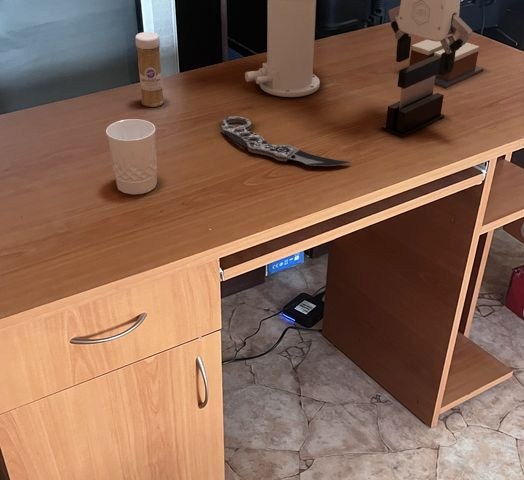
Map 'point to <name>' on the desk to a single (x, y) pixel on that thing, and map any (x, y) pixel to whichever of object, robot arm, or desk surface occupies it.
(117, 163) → the white cup
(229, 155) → the desk surface
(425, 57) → the cake
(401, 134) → the stand
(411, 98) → the plate
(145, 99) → the sprinkles bottle
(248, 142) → the knife
